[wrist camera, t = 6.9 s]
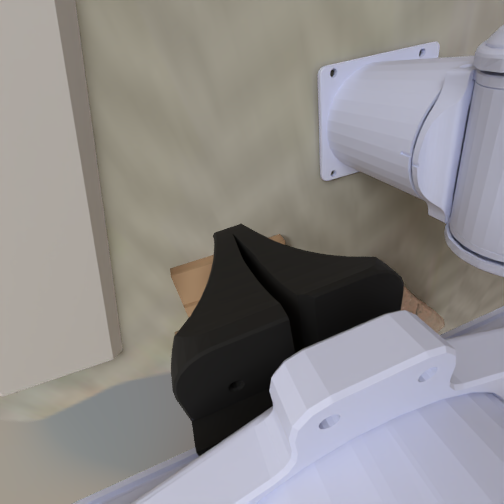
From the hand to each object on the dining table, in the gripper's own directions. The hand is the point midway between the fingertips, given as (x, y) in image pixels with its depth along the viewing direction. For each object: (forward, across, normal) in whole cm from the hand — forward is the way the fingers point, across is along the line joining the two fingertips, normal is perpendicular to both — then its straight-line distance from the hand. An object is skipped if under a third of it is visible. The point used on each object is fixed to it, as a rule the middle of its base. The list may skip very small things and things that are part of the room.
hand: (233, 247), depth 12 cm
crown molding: (+11, +13, -2) cm, 17 cm away
